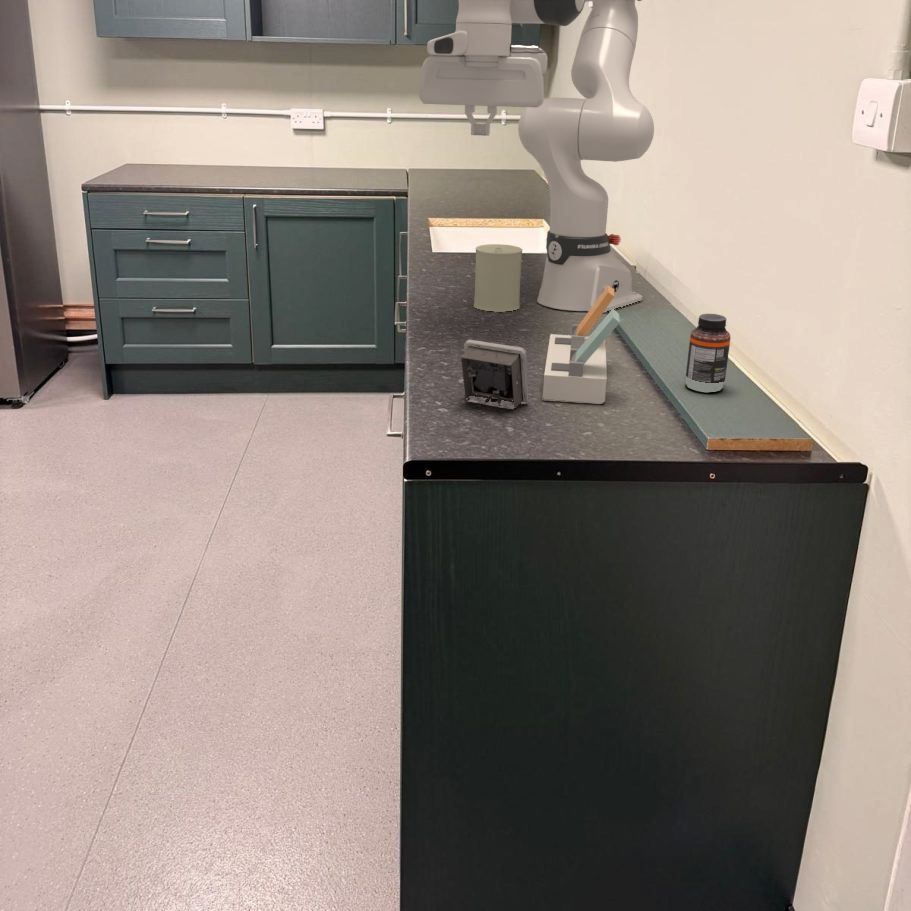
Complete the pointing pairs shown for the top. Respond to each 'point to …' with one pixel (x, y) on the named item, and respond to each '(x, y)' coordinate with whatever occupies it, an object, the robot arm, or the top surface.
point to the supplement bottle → (708, 350)
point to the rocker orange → (595, 312)
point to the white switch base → (574, 371)
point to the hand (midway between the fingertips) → (480, 135)
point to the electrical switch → (495, 371)
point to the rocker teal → (597, 337)
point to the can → (497, 277)
